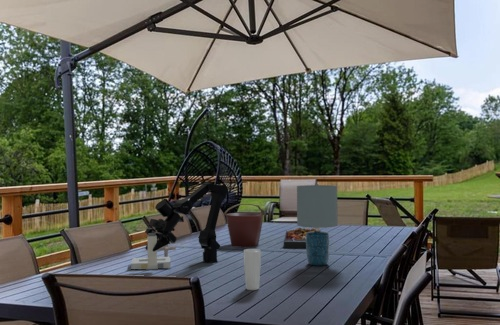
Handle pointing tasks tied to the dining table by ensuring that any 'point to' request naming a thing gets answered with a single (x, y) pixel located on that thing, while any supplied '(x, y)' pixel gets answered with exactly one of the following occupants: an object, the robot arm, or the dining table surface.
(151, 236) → the plug
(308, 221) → the lamp
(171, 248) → the pipe connector
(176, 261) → the dining table surface
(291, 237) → the food platter
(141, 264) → the socket panel
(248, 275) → the drinking glass
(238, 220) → the bucket
